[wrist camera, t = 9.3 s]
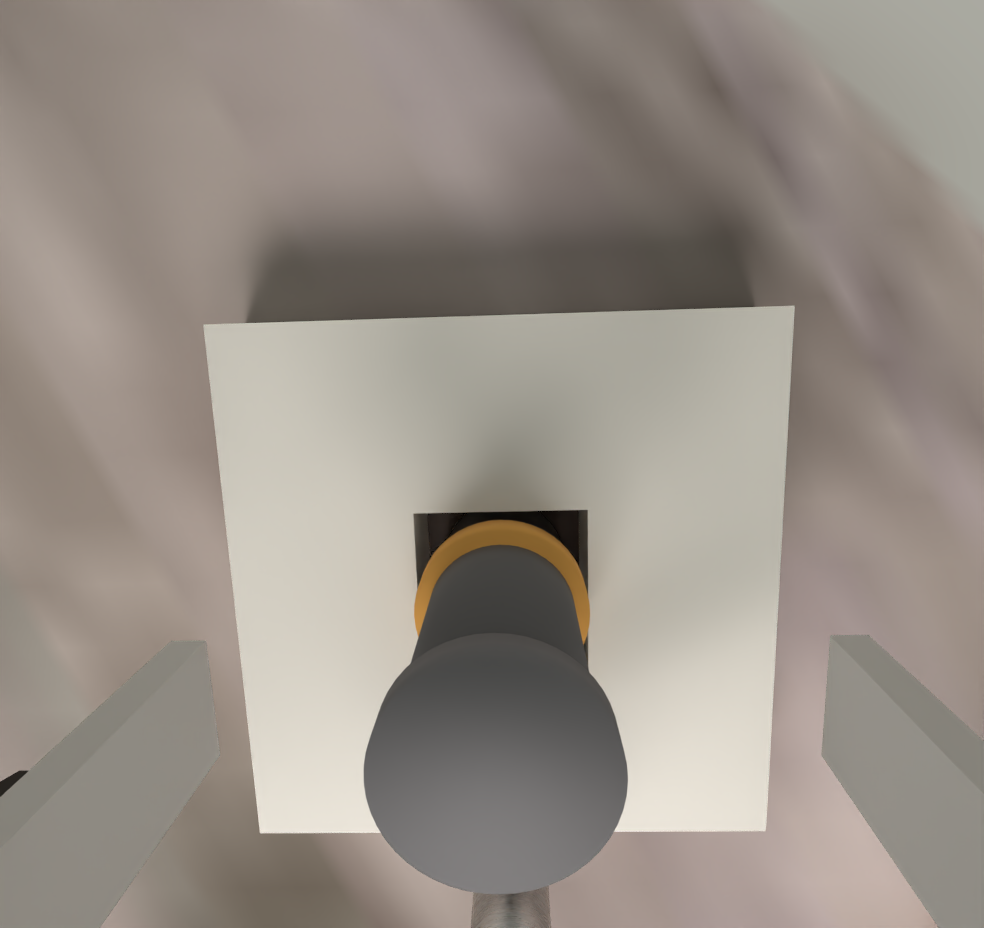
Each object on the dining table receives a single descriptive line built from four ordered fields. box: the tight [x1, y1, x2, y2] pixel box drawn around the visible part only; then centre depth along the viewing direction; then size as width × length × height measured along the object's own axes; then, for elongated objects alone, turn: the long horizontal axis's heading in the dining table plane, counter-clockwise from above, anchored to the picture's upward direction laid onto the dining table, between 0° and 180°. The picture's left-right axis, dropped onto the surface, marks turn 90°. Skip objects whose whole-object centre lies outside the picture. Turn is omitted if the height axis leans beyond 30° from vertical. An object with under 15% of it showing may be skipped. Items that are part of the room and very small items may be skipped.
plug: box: [364, 511, 628, 894], centre depth 18 cm, size 5×5×12 cm
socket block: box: [203, 306, 795, 833], centre depth 22 cm, size 16×16×3 cm
